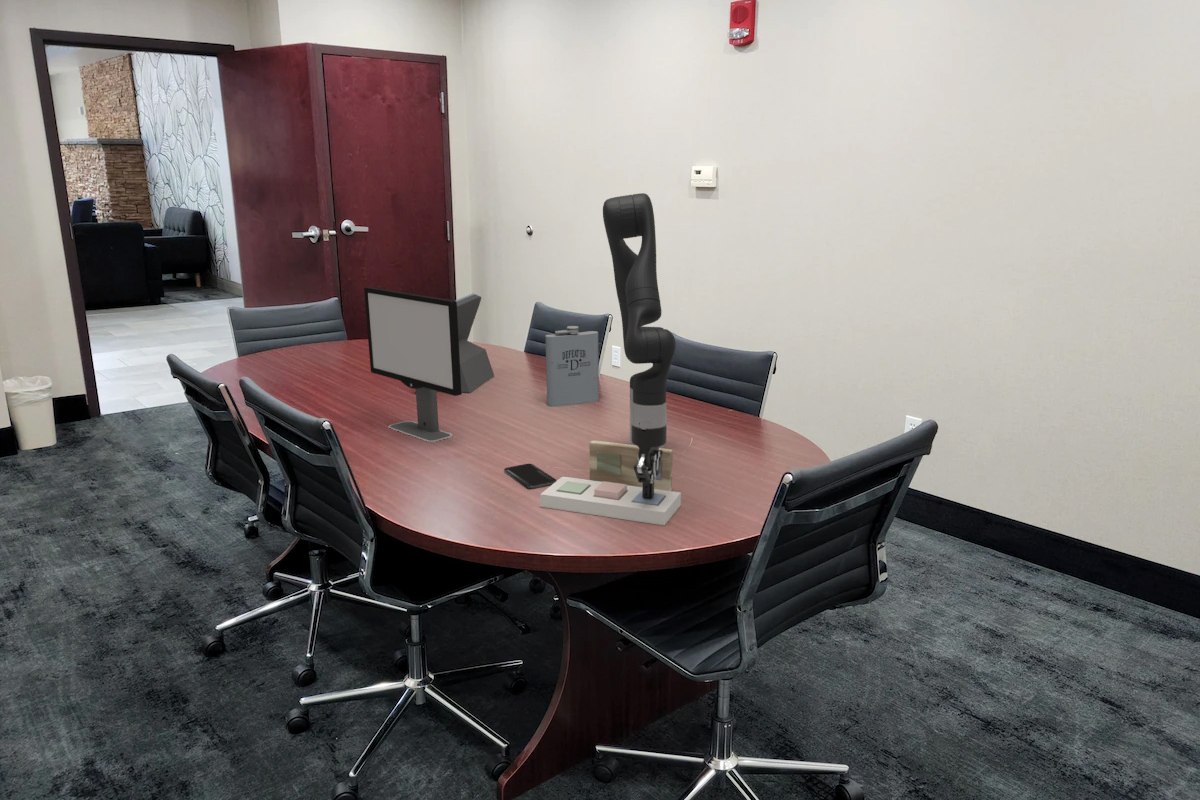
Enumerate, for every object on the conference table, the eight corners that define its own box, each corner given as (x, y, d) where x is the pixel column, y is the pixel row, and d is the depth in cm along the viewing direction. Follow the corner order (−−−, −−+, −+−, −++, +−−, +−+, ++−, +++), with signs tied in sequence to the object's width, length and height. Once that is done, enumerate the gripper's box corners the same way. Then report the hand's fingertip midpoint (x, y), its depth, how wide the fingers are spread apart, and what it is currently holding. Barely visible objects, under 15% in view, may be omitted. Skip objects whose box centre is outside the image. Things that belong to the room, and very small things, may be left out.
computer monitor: (368, 421, 254) (357, 288, 243) (392, 415, 260) (382, 285, 249) (452, 450, 227) (444, 302, 217) (477, 443, 233) (470, 298, 222)
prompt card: (593, 479, 206) (592, 440, 203) (672, 490, 198) (672, 449, 196) (589, 482, 204) (588, 443, 201) (669, 493, 196) (669, 452, 194)
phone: (528, 487, 199) (502, 468, 212) (529, 491, 199) (502, 472, 212) (558, 480, 203) (531, 462, 215) (558, 485, 203) (531, 466, 216)
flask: (550, 407, 267) (548, 329, 261) (545, 403, 272) (543, 327, 265) (601, 401, 274) (600, 325, 267) (596, 398, 278) (595, 322, 271)
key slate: (641, 502, 190) (641, 491, 189) (665, 506, 188) (665, 494, 187) (632, 511, 185) (632, 500, 184) (657, 515, 183) (657, 503, 182)
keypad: (562, 488, 200) (562, 476, 199) (680, 505, 190) (681, 492, 189) (540, 506, 189) (540, 494, 189) (664, 525, 179) (664, 512, 178)
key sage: (567, 492, 196) (567, 481, 195) (589, 495, 194) (589, 484, 193) (557, 500, 191) (557, 489, 190) (580, 504, 189) (580, 492, 188)
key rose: (603, 492, 193) (603, 481, 192) (626, 495, 191) (626, 484, 190) (594, 501, 188) (594, 489, 187) (618, 504, 186) (618, 493, 185)
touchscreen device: (449, 370, 317) (448, 290, 309) (499, 374, 313) (499, 293, 305) (410, 394, 284) (406, 305, 276) (465, 399, 280) (463, 309, 272)
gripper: (642, 412, 188) (641, 485, 193) (621, 428, 176) (621, 506, 181) (675, 415, 185) (673, 490, 190) (656, 432, 173) (654, 511, 178)
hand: (648, 497), depth 185 cm, fingers closed
